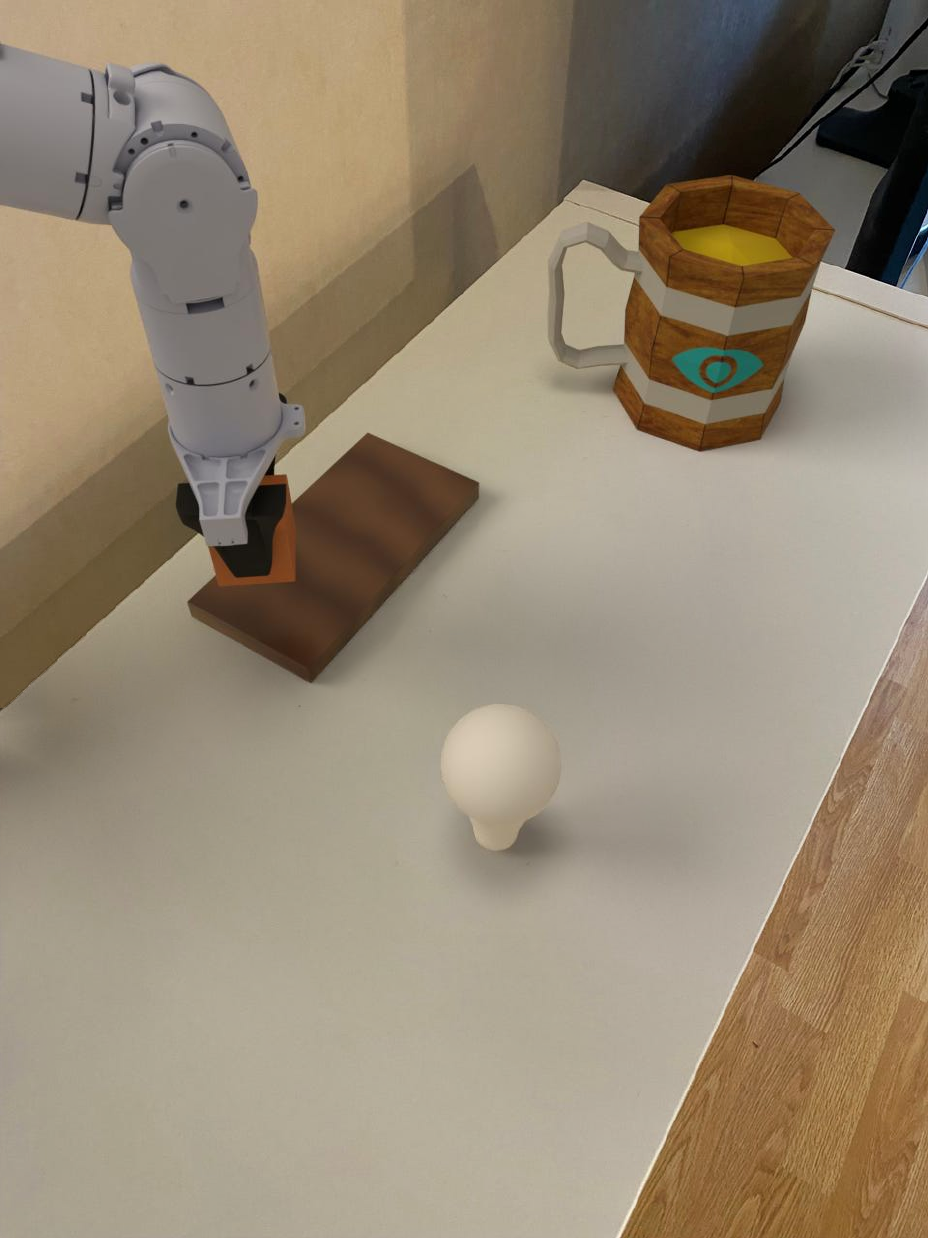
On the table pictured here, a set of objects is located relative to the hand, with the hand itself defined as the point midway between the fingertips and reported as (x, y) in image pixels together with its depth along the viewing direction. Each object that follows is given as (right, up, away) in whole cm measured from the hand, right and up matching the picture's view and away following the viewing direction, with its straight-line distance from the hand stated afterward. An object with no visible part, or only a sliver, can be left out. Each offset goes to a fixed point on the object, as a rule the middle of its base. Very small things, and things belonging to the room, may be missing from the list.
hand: (253, 540), depth 60 cm
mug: (+28, +14, +22) cm, 39 cm away
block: (0, -1, +1) cm, 1 cm away
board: (+4, 0, +11) cm, 12 cm away
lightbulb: (+14, -17, -3) cm, 22 cm away
